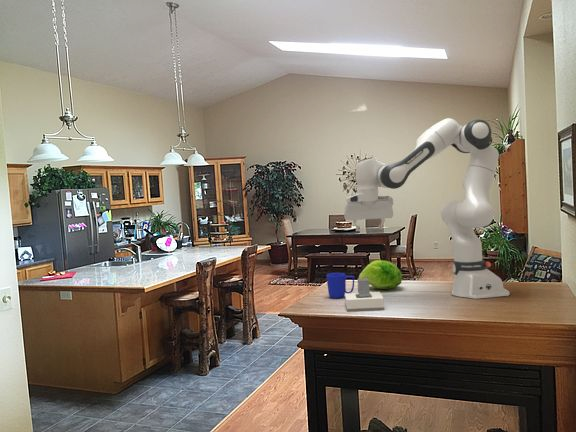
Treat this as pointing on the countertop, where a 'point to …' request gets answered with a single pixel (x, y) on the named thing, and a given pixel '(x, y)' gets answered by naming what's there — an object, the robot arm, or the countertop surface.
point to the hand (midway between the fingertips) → (369, 230)
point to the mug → (337, 284)
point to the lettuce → (382, 274)
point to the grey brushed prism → (363, 288)
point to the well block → (364, 302)
